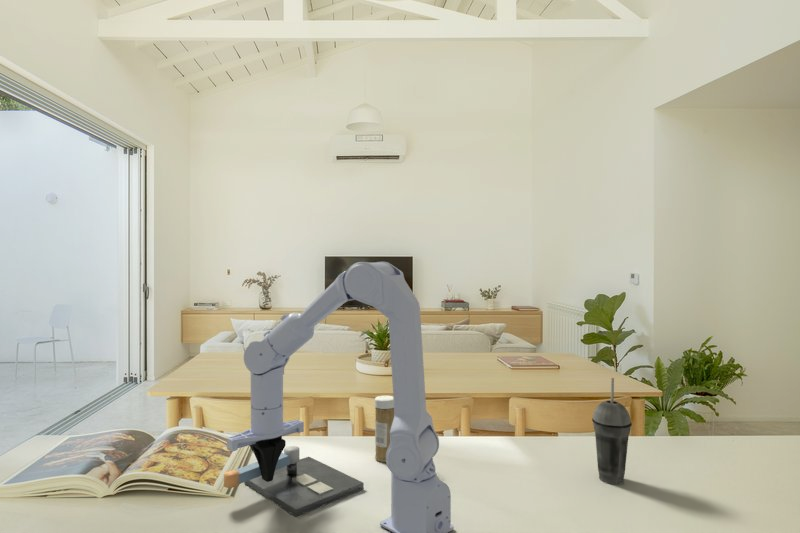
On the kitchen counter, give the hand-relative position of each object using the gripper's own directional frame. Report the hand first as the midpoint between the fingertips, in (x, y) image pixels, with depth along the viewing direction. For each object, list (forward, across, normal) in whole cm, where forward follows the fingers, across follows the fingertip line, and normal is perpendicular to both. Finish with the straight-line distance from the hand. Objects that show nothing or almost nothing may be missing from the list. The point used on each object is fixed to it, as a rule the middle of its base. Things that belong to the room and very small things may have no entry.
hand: (267, 479), depth 94 cm
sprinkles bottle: (+4, -28, +1) cm, 28 cm away
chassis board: (+3, -7, 0) cm, 8 cm away
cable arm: (0, -1, -3) cm, 3 cm away
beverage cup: (+4, -53, +40) cm, 67 cm away
